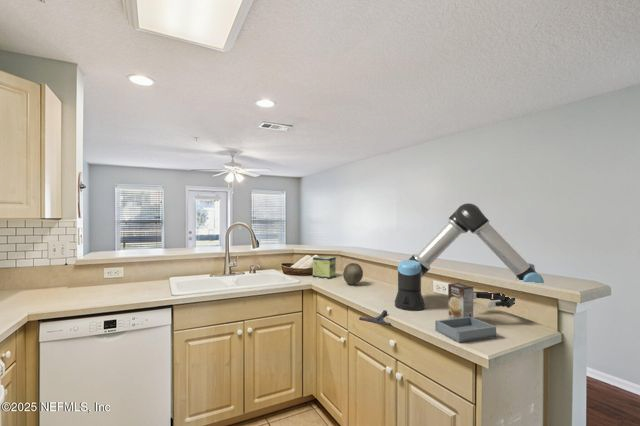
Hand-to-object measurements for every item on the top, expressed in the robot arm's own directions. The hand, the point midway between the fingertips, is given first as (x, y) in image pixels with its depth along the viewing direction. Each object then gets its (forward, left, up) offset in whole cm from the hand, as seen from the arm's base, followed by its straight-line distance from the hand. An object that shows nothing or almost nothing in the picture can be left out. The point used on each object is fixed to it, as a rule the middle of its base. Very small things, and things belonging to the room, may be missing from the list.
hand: (476, 300), depth 139 cm
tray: (+13, -19, -8) cm, 24 cm away
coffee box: (0, -9, -9) cm, 13 cm away
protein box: (-115, -35, -9) cm, 121 cm away
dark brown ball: (-82, -25, -9) cm, 86 cm away
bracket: (-14, -42, -9) cm, 45 cm away
